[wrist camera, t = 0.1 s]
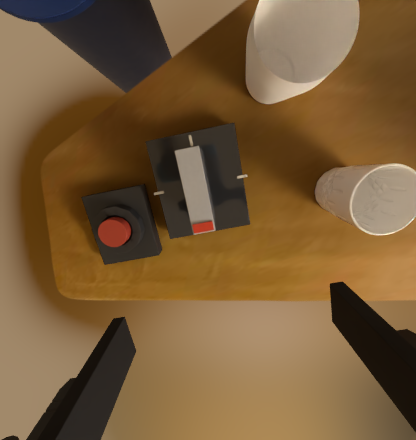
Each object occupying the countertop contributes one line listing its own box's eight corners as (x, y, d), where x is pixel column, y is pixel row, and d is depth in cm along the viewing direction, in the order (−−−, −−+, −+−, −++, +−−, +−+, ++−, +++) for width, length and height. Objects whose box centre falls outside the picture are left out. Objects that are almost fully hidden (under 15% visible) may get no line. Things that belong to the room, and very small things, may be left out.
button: (100, 219, 32) (93, 222, 30) (126, 214, 32) (122, 217, 30) (108, 245, 33) (103, 249, 31) (134, 240, 33) (130, 244, 31)
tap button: (89, 195, 35) (73, 199, 31) (144, 183, 34) (136, 186, 30) (110, 259, 37) (98, 270, 33) (162, 249, 37) (156, 260, 33)
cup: (268, 21, 28) (307, -75, 17) (317, 72, 30) (385, 15, 18) (222, 83, 30) (229, 34, 19) (271, 127, 32) (304, 108, 20)
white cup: (352, 153, 32) (413, 149, 23) (370, 200, 34) (433, 215, 24) (302, 179, 33) (339, 186, 24) (321, 223, 35) (363, 247, 25)
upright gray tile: (184, 153, 30) (173, 150, 22) (202, 149, 30) (198, 145, 22) (197, 217, 32) (193, 235, 24) (214, 214, 32) (215, 231, 24)
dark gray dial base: (147, 144, 33) (140, 142, 30) (236, 125, 32) (239, 121, 29) (169, 233, 36) (165, 240, 33) (250, 218, 35) (254, 223, 32)
